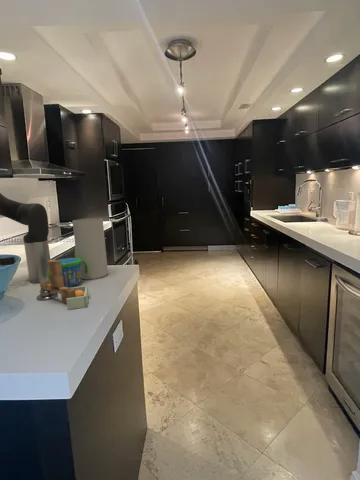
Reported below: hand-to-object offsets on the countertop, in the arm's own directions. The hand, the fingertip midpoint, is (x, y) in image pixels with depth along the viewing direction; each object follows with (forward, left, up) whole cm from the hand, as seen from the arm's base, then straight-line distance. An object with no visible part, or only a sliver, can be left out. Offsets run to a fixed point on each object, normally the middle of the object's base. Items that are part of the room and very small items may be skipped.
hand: (14, 260), depth 95 cm
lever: (-1, +11, -16) cm, 19 cm away
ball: (+3, +19, -14) cm, 23 cm away
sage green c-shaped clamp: (+3, +18, -16) cm, 24 cm away
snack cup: (-19, +13, -16) cm, 28 cm away
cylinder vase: (-29, +22, -16) cm, 40 cm away
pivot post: (-7, +7, -16) cm, 18 cm away
